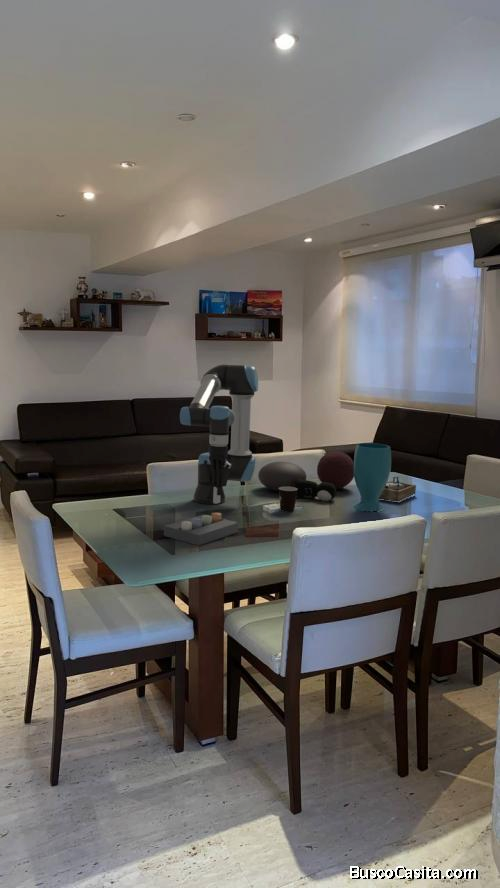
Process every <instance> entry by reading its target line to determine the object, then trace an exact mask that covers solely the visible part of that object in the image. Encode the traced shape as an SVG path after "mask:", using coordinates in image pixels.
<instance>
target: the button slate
mask: <svg viewBox="0 0 500 888" xmlns="http://www.w3.org/2000/svg"><path fill="white" fill-rule="evenodd" d="M192 518H193V517H192ZM192 527H195V528H200V527H202V519H200V518H193V519H192Z"/></svg>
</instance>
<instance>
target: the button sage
mask: <svg viewBox="0 0 500 888" xmlns="http://www.w3.org/2000/svg"><path fill="white" fill-rule="evenodd" d="M203 515H204V514H203ZM202 524H205V525H210V524H212V516H211V515H208V514H205V515H204V516H202Z"/></svg>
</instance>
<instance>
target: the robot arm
mask: <svg viewBox="0 0 500 888" xmlns="http://www.w3.org/2000/svg"><path fill="white" fill-rule="evenodd" d="M258 390H259V376H258V372H257V369H256V367H255V366H253V365H238V364H237V365H236V364H219V365H216V366H214V367H211V368H210V369H209V370H208V371H206V372H205V373H204V374H203V375H202V377H201V379H200V386H199V388H198V389H197V391H196V394H195V395H194V397H193V399H192V401H191V403H190V405H189V406H182V408H180V412H179V421H180V425H181V424H182V425H183V426H184V425H185V426H193V427H194V426H196V427H209V442H208V443H209V446H208V452H204V453H201V454H199V455H198V460H197V461H198V462H197V485H196V488H195V492H194V494H193V501H194V502H195V503H198V504H202V505H218V504H222V503H223V504H224V503H225V502H226V494H225V490H224V487H226V486H227V484H228V481H231V482H240V483H241V482H250V481H251V480H252V477H253V475H254V471H255V467H256V466H255V465H256V457H254V456H253V452H252V451H251V450H250V433H251V432H250V431H251V430H250V429H251V409H252V408H251V404H252V403H251V402H252V399H253V397H254V396H255V393H256V392H258ZM219 391H229V392H228V393H229V394H228V395H229V396H230V397H231V401H232V402H231V403H232V404H231V409H230V408H229V406H227V405H226V406H225V405H212V406H211V404H212V402H213V399H214V398H215V395H216V394H217V393H218V392H219ZM210 406H211V407H210ZM229 427H231V430H230V433H231V434H230V449H229V446H228V444H229Z"/></svg>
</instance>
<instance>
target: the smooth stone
mask: <svg viewBox="0 0 500 888" xmlns="http://www.w3.org/2000/svg"><path fill="white" fill-rule="evenodd" d="M257 478H258V480H259V482H260V483H261V485H263V486H264V487H265V488H268V489H269V490H274V491H276V492H279V488H280V487H294V488H295V484H296V482H297V480H298V479H302V480H307V473H306V471H305V470H304V469H303V468H302V467H301V466H299V465H297V464H296V463H293V462H289V461H282V460H281V461H272V462H269V463H268V464H266V465H265V464H264V466H262V467H261V468H260V470H259V471H258V475H257Z"/></svg>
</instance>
